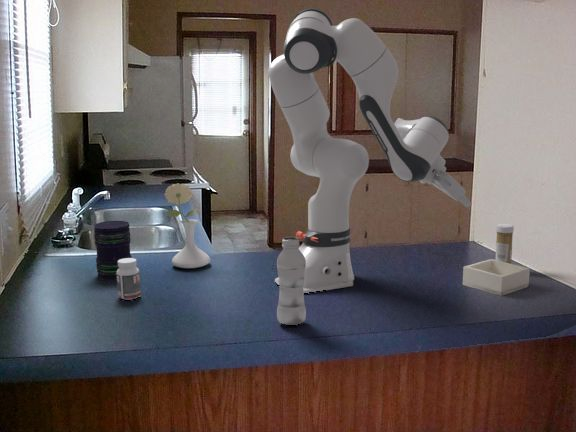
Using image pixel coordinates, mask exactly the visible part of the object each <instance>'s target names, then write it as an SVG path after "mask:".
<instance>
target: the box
mask: <svg viewBox="0 0 576 432" xmlns="http://www.w3.org/2000/svg"><path fill="white" fill-rule="evenodd" d="M530 270H531V268H530V267H525V266H522V265H517V264H513V263H511V264H510V263H506V262H502V261H498V260H496V259H494V258H490V259H486V260H481V261H479V262H475V263H472V264H469V265H464V266H463V271H462V285H463V286H465V287H469V288H473V289H476V290H480V291H482V292H486V293H488V294H489V293H490V294H493V295H497V296H499V297H502V296H505V295H508V294H511V293H514V292H516V291H520V290H522V289H526V288H529V285H530V273H531V271H530Z"/></svg>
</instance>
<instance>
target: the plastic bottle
mask: <svg viewBox="0 0 576 432" xmlns="http://www.w3.org/2000/svg"><path fill="white" fill-rule="evenodd" d="M300 246H301V245H300V239H299V238H298V237H296V236H287V237H283V238H282V244H281V247H282V248H283V249H282V251H281V252H280V253H279V255H278V257H277V259H276V267H277V270H276V271H277V275H278V277H279V285H280V286H278V287H279V288H278V289H279V292H278V293H279V294H278V303H277V309H276V318H277V321H278V322H279V323H280V324H281V323H282V324H286V325H296V326H299V325H298V324H300V325H302V324H303V323H304V322H305V321H306V316H307V309H306V303H305V295H304V293H303V284H304V274H305V266H306V260H305V257H304V255H303V254H302V253H301V251H300V250H299V247H300ZM301 323H302V324H301ZM282 324H281V325H282ZM286 325H285V326H286Z"/></svg>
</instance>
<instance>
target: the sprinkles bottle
mask: <svg viewBox="0 0 576 432" xmlns="http://www.w3.org/2000/svg"><path fill="white" fill-rule="evenodd" d="M495 230H496V241H495V259H494V260H498V261H502V262H506V263H510V264H512V260H513V259H512V258H513V257H512V256H513V234H514V225H513V224H510V223H498V224H496V229H495Z"/></svg>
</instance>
